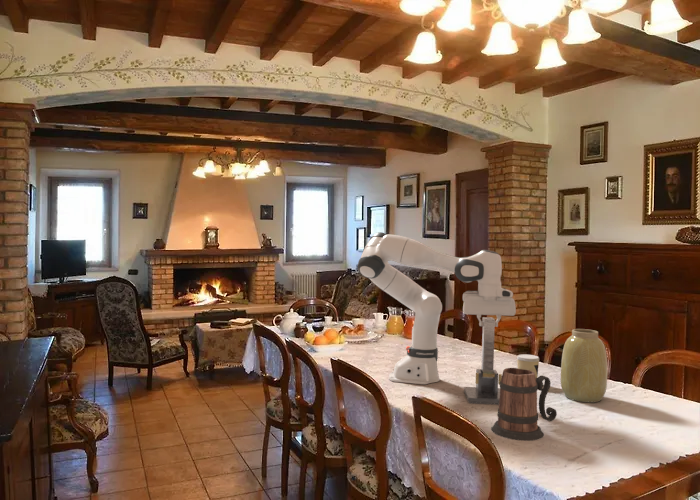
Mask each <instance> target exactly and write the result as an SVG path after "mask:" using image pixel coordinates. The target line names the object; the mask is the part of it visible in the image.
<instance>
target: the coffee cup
mask: <svg viewBox="0 0 700 500" xmlns="http://www.w3.org/2000/svg"><path fill="white" fill-rule="evenodd" d="M516 362H517V363H516V364H517V367H516V368H518V369H525V370H530V371H533V372H534V373H535V377H536V379H537V378H538V377H539V375H538V374H539V366H540V363H539V362H540V357H539V356H537V355H534V354H524V353H523V354H518V355H517V357H516Z"/></svg>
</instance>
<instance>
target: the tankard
mask: <svg viewBox="0 0 700 500" xmlns="http://www.w3.org/2000/svg"><path fill="white" fill-rule="evenodd" d="M501 374H502V378H501V381H500V385H499V388H500V399H499V405H498V408H497V420H496V421H495V422H494V424H492V425H491V427H490V430H491V432H492V433H494V434H495V435H497V436H499V437H501V438H505V439H508V440H514V441H521V442H522V441H525V442H527V441H528V442H530V441H536V440H537V441H538V440H541V439H543V438H544V436H545V433H544V431H543V430H542V428H541V426H539V425H538V424H539V423H538V421H539V414H540V417H541V418H542V419H543V420H546V421H548V422H553V421H555V420H556V418H557V414H558V412H557V410H556V409H555V408H552V407H550V406H548V407H545V405H546V404H545V403H546V398H547V395H548V393H549V390H550V388H551V379H550V378H549V377H547V376H546V375H538V376H537V379H536V377H535V373H534V372H533V371H530V370H525V369H518V368H517V367H507V368H505V369H503V370H502V373H501ZM538 391H540V393H539V397H538ZM545 408H546V409H545ZM538 410H539V412H538Z"/></svg>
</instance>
